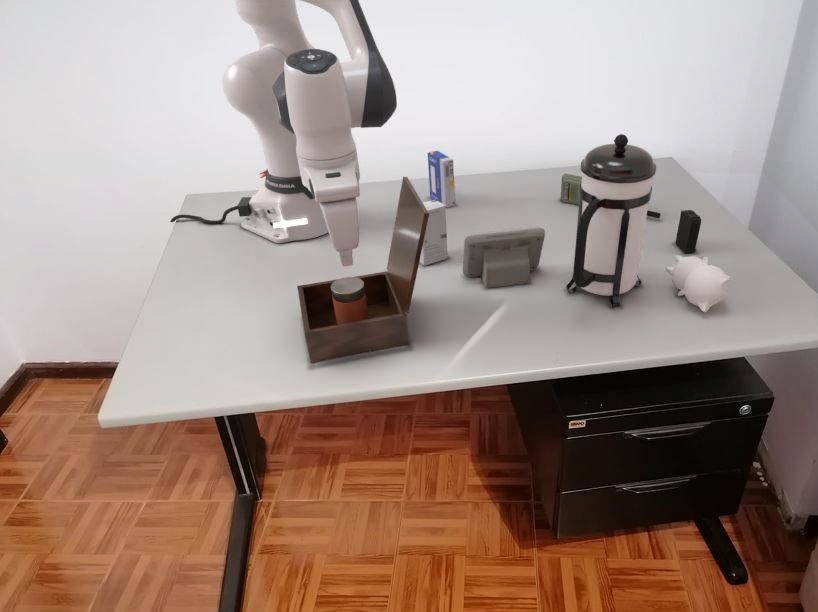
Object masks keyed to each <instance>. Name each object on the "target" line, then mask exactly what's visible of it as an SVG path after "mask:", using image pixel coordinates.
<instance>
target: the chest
mask: <svg viewBox="0 0 818 612" xmlns="http://www.w3.org/2000/svg"><path fill="white" fill-rule="evenodd" d="M354 277H356V278H359V279H361V280H362V281H363V282H364V288H365V293H366V300H367V307H368V315H369V319H368V320H362V321H356V322H351V323H345V324H340V325H337V321H336V316H335V310H334V304H333V298H332V291H331V285H332V283H333V282H335V281H336V280H338V279H339V278H338V279H331V280H324V281H319V282H313V283H307V284H300V285H297V286H296V287H297V294H298V300H299V301H298V302H299V307H300V313H301V320H302V325H303V326H302V327H303V333H304V337H305V342H306V347H307V351H308V356H309V361H310V364H314V363H319V362H325V361H331V360H335V359H341V358H345V357H353V356H357V355H361V354H367V353H372V352H377V351H382V350H383V351H384V350H388V349H393V348H399V347H404V346H409V345H410V337H409V327H408V316H407V313H404V311H403V308H402V306H401V303H400V301H399V298H398V296H397V293H396V291H395V288H394V286H393V283H392V281H391V278H390V276H389V273H388V271H387V270H386V271H381V272H373V273H369V274H362V275H356V276H354Z"/></svg>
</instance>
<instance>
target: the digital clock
mask: <svg viewBox="0 0 818 612" xmlns="http://www.w3.org/2000/svg"><path fill="white" fill-rule="evenodd" d="M545 237H546V231H545V229H544V228H543V227H540V226H530V227H521V228H512V229H503V230H494V231H483V232H476V233H469V234H467V236H466V237H464V241H463V255H462V257H463V258H462V274H463V275H464V276H465V277H468V278H476V277H480V278H481V280H482V283H483V285H484V287H485V288H486V289H490V288H497V287H499V288H500V287H505V286H506V287H508V286H515V285H522V284H529V283H530V271H533V270H536V269H537V268H538V267H539V266H540V265H539V264H540V261H541V256H542V250H543V246H544V241H545Z"/></svg>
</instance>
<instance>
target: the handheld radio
mask: <svg viewBox="0 0 818 612" xmlns="http://www.w3.org/2000/svg"><path fill="white" fill-rule="evenodd" d="M581 181H582V175H581V176H580V175H575V174H570V173H563V174H561V185H560V201H561V202H562V203H569V204H572V205H573V204H574V205H578V206H579V202H580V195H579V191H580V183H581ZM646 217H649V218H650V217H651V218H654V219H660V217H661V212H658V211H652V210H647V216H646Z"/></svg>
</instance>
